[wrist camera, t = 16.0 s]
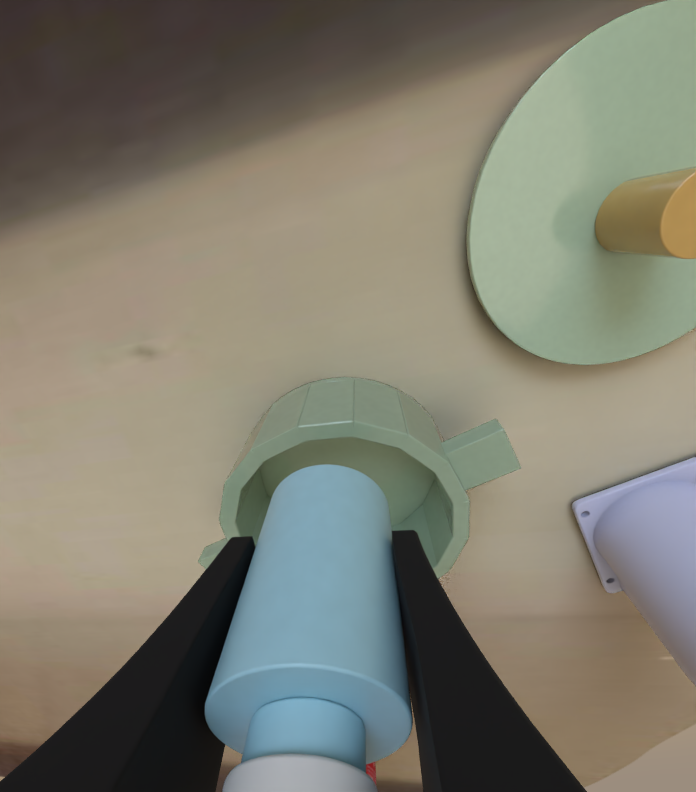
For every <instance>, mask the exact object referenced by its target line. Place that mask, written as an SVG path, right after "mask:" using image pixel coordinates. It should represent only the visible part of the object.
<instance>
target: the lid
mask: <svg viewBox="0 0 696 792" xmlns="http://www.w3.org/2000/svg"><path fill="white" fill-rule="evenodd" d="M466 242H467V260H468V266H469V271H470V277H471V281H472V284H473V287H474V290H475V293H476V296H477V298H478V300H479V302H480V304H481V306H482V308H483V310H484V311H485V313H486V314H487V316H488V317H489V319H490V320H491V321H492V323H493V324H494V325H495V326H496V327H497V328H498V329H499V330H500V331H501V332H502V333H503V335H504V336H506V337H507V338H508V339H510V340H511V341H512V342H514V343H515V344H516V345H518V346H519V347H521V348H522V349H524V350H526V351H528V352H530V353H532V354H534V355H536V356H539V357H542V358H544V359H547V360H550V361H555V362H560V363H565V364H576V365H593V364H605V363H611V362H617V361H622V360H625V359H629V358H633V357H636V356H640V355H642V354H645V353H647V352H650V351H653V350H655V349H658V348H660V347H662V346H664V345H666V344H668V343H670V342H672V341H674V340H676V339H678V338H679V337H681V336H683V335H684V334H686V333H687V332H689V331H691V330H692V329H694V328H696V0H666V1H662V2H659V3H655V4H651V5H647V6H644V7H641V8H639V9H636V10H634V11H632V12H629V13H627V14H625V15H622V16H620V17H618V18H615V19H614V20H612V21H610V22H609V23H607V24H605V25H603V26H602V27H600V28H598V29H597V30H595V31H593V32H592V33H590V34H589V35H587V36H586V37H585V38H583V39H582V40H581V41H579V42H578V43H577V44H575V45H574V46H573V47H571V48H570V49H569V50H567V51H566V52H565V53H564V54H562V55H561V56H560V57H559V58H558V59H557V60H556V61H555V62H554V63H553V64H552V65H551V66H550V67H548V68H547V69H546V70H545V71H544V72H543V73H542V74H541V75H540V76H539V77H538V78H537V79H536V80H535V82H534V83H533V84H532V85H531V86H530V87H529V89H528V90H527V91H526V92H525V93H524V94H523V96H522V97H521V98H520V99H519V100H518V102H517V103H516V105H515V106H514V108H513V109H512V111H511V112H510V113H509V115H508V116H507V118H506V119H505V121H504V122H503V124H502V126H501V127H500V129H499V131H498V133H497V135H496V136H495V138H494V140H493V142H492V144H491V145H490V147H489V150H488V152H487V154H486V157H485V159H484V162H483V164H482V166H481V169H480V171H479V174H478V178H477V181H476V184H475V187H474V191H473V194H472V199H471V204H470V209H469V214H468V224H467V237H466Z"/></svg>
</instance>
